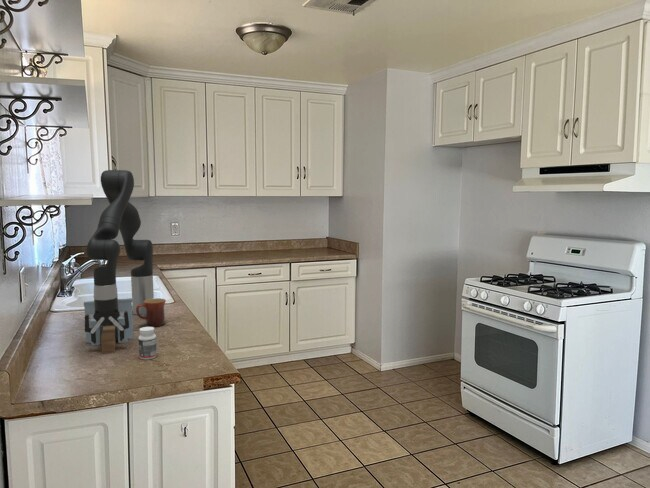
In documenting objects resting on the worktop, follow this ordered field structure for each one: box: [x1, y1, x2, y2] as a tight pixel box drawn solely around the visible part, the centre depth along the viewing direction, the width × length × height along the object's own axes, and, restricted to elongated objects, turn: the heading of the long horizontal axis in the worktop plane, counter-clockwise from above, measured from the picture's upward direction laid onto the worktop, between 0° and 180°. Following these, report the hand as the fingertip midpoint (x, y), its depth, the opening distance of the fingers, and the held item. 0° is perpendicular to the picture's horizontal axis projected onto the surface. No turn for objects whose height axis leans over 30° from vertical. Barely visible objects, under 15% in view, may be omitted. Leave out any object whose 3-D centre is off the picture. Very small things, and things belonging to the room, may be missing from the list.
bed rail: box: [100, 325, 117, 355], centre depth 177 cm, size 14×4×6 cm, turn 21°
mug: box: [136, 298, 167, 328], centre depth 204 cm, size 12×9×10 cm
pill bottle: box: [138, 326, 158, 361], centre depth 167 cm, size 6×6×10 cm
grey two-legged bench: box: [83, 297, 134, 347], centre depth 183 cm, size 6×16×15 cm, turn 110°
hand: (108, 341), depth 175 cm, fingers open, 8 cm apart
